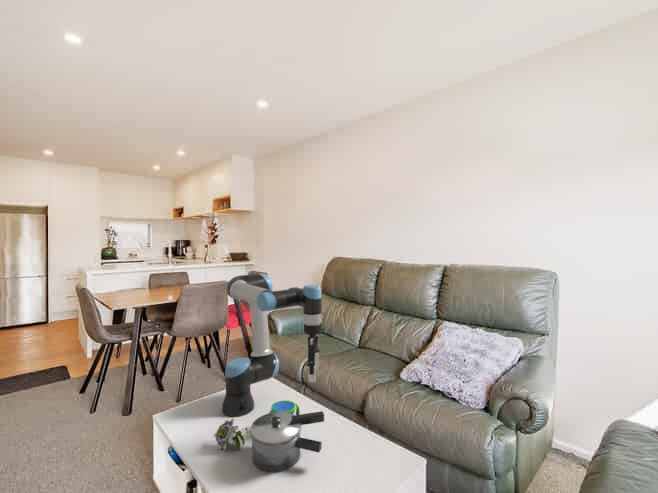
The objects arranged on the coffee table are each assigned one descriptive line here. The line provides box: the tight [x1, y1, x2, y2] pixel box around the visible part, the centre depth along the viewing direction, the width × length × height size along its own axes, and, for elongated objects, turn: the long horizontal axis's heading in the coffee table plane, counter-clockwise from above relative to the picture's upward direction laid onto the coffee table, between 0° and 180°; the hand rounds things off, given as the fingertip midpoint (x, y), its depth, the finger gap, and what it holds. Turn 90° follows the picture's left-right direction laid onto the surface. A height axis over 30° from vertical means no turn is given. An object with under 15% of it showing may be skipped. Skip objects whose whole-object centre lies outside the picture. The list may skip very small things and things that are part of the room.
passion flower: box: [213, 418, 249, 451], centre depth 134 cm, size 11×11×12 cm
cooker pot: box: [251, 432, 323, 474], centre depth 126 cm, size 18×27×10 cm, turn 70°
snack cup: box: [268, 399, 301, 415], centre depth 145 cm, size 16×10×10 cm
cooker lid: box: [250, 410, 325, 445], centre depth 128 cm, size 28×19×4 cm
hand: (313, 374), depth 137 cm, fingers open, 13 cm apart
